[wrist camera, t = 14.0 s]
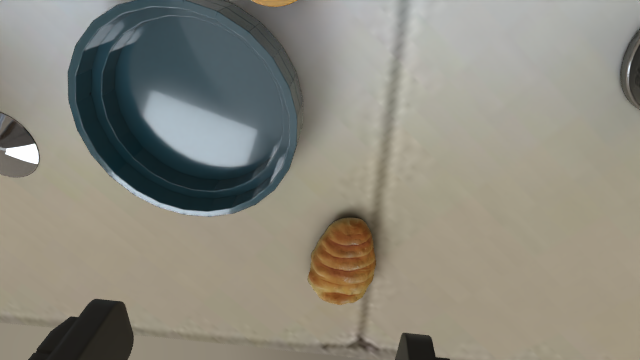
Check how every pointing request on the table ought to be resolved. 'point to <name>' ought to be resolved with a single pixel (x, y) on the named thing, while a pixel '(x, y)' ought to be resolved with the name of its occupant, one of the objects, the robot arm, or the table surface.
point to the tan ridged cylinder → (274, 2)
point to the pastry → (343, 262)
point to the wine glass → (16, 149)
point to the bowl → (186, 104)
